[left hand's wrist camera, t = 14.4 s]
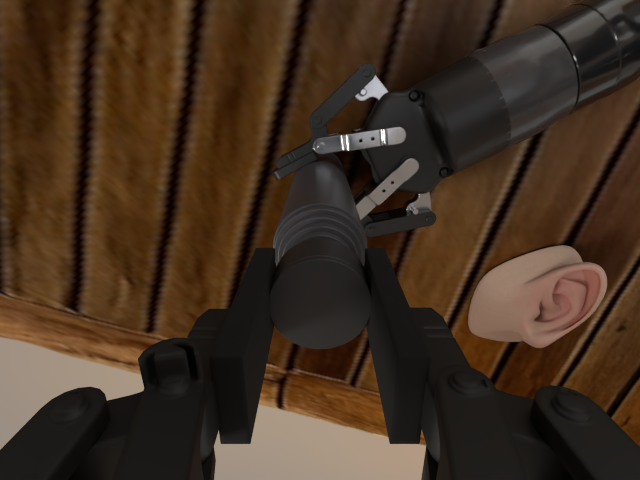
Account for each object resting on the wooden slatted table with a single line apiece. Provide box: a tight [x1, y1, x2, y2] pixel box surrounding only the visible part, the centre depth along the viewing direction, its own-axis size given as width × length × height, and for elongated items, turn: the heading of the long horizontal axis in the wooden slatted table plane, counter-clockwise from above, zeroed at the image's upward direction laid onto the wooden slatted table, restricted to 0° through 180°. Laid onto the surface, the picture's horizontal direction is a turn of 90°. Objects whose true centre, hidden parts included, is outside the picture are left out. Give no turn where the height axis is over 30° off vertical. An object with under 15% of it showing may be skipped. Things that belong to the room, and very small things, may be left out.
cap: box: [269, 239, 371, 349], centre depth 14 cm, size 4×4×2 cm
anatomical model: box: [468, 245, 607, 348], centre depth 39 cm, size 13×4×12 cm
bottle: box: [273, 153, 367, 265], centre depth 25 cm, size 5×5×25 cm
